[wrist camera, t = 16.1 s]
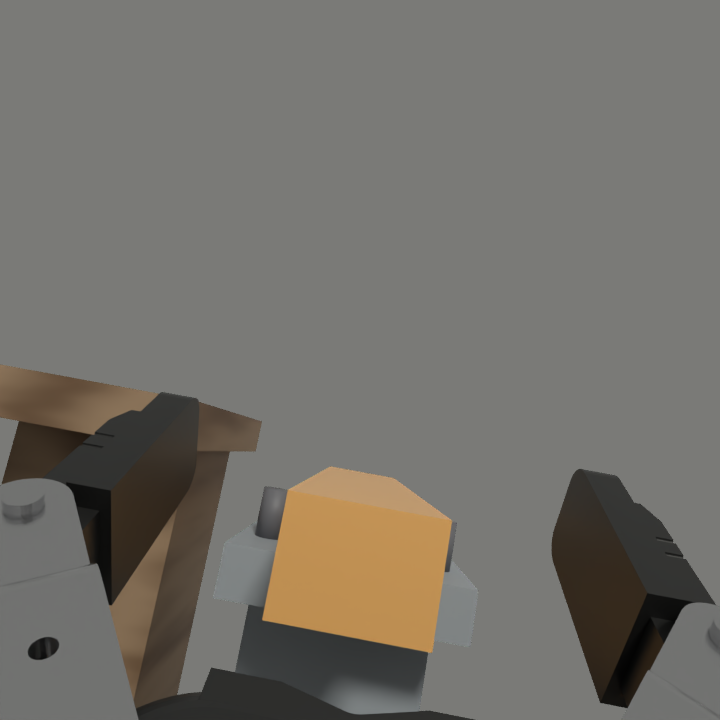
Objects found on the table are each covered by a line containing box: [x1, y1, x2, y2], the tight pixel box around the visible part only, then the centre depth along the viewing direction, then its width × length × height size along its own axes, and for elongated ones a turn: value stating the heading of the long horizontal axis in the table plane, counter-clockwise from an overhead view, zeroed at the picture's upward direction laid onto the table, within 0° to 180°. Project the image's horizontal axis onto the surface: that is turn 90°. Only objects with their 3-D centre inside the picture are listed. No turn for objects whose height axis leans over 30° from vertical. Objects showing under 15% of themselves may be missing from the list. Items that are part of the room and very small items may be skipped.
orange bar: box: [262, 466, 452, 653], centre depth 24 cm, size 4×22×3 cm, turn 0°
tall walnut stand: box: [0, 365, 262, 708], centre depth 28 cm, size 10×16×32 cm, turn 0°
